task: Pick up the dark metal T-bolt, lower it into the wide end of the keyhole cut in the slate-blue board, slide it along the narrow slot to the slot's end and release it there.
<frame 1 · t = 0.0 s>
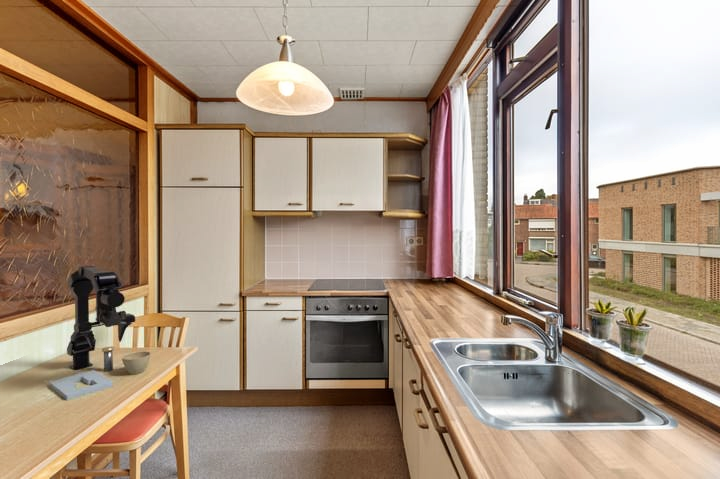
hand: (106, 344, 138), 15 cm above the table, fingers open, 9 cm apart
keyhole board: (81, 385, 135), on the table
bolt: (108, 370, 150), on the table
grey bowl: (137, 372, 148), on the table
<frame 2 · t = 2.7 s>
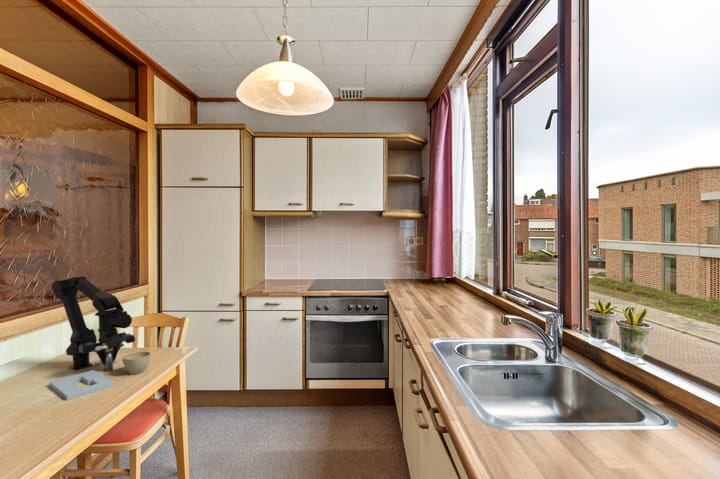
hand: (108, 363, 150), 3 cm above the table, fingers closed on bolt, 3 cm apart
bolt: (108, 370, 150), on the table, touching gripper
everything else where it was.
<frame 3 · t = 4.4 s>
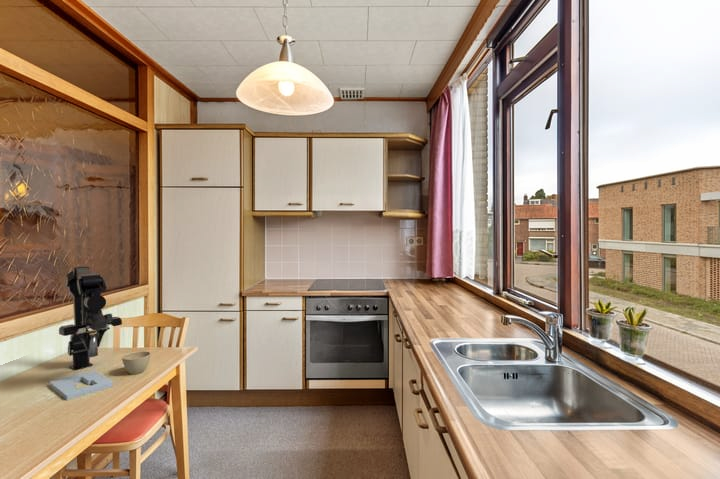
hand: (92, 348, 137), 14 cm above the table, fingers closed on bolt, 3 cm apart
bolt: (93, 355, 137), point 11 cm above the table, touching gripper
everything else where it was.
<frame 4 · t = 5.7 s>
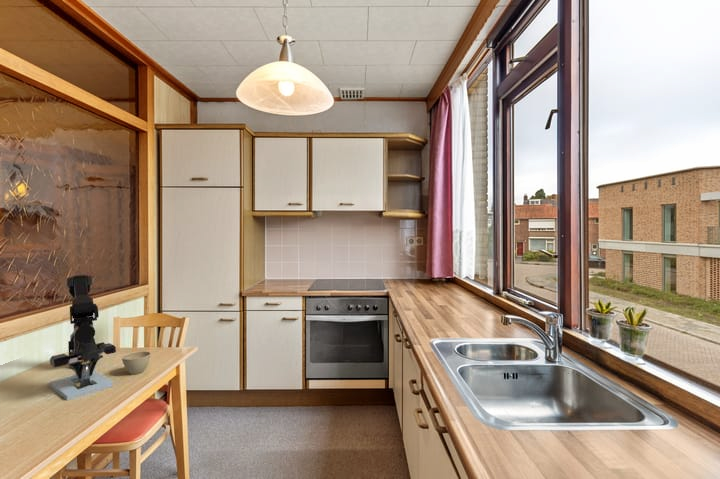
hand: (85, 377, 133), 4 cm above the table, fingers closed on bolt, 3 cm apart
bolt: (85, 385, 133), point 1 cm above the table, touching gripper
everything else where it was.
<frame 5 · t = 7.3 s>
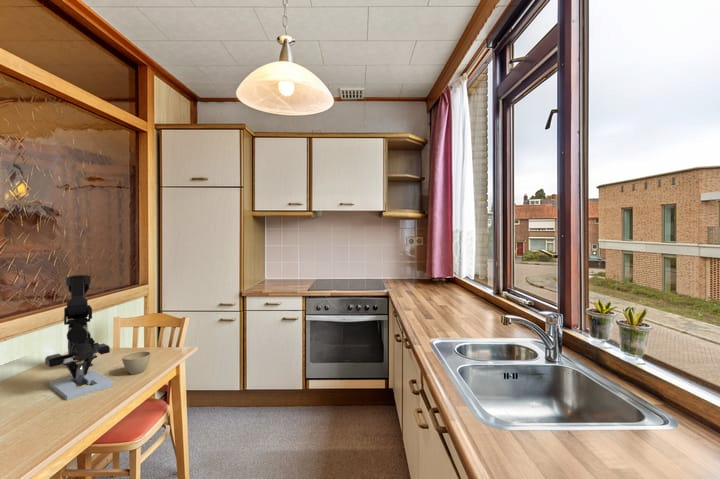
hand: (79, 376, 136), 3 cm above the table, fingers closed on bolt, 3 cm apart
bolt: (80, 384, 136), resting in keyhole board, touching gripper
everything else where it was.
when the fingers open (3 cm above the table, at t = 8.8 s): bolt stays where it is, resting in keyhole board.
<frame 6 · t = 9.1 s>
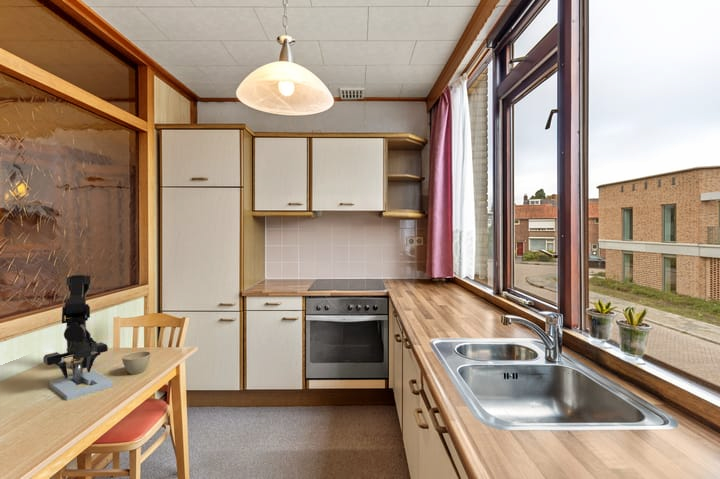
hand: (77, 375, 137), 3 cm above the table, fingers open, 7 cm apart
bolt: (78, 383, 137), resting in keyhole board
everything else where it was.
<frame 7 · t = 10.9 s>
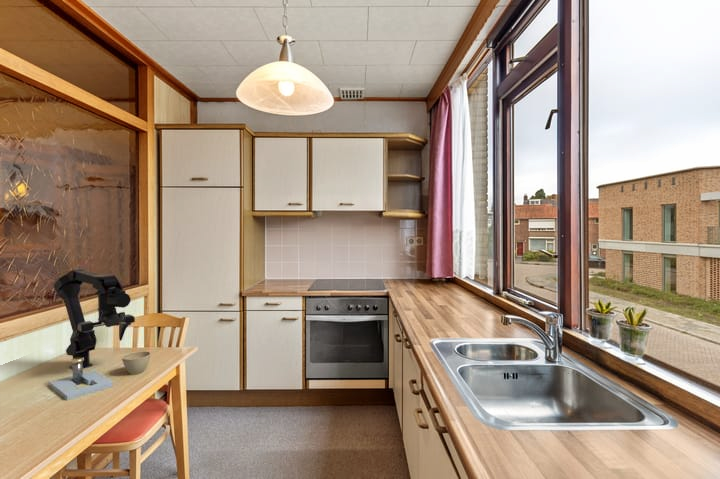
hand: (107, 343, 148), 12 cm above the table, fingers open, 9 cm apart
nothing on the table moved.
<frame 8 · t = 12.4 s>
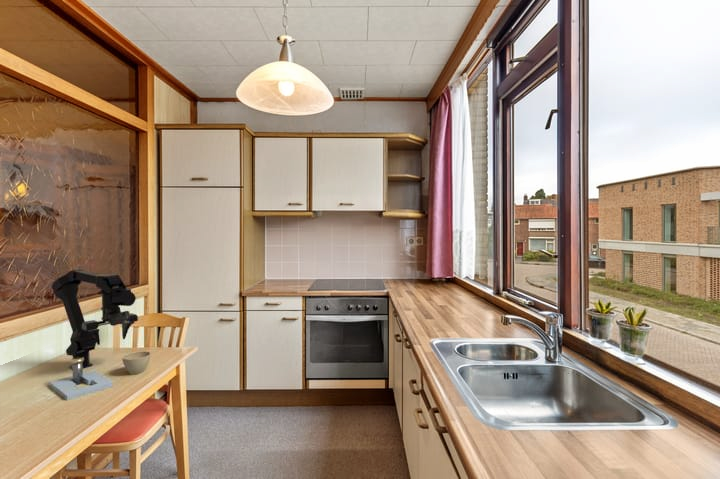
hand: (111, 341, 150), 12 cm above the table, fingers open, 9 cm apart
nothing on the table moved.
at the end: bolt 0.1 cm from the target spot on the keyhole board, point 0.0 cm above the keyhole board's base; bolt tilted 0°; the gripper is holding nothing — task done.
